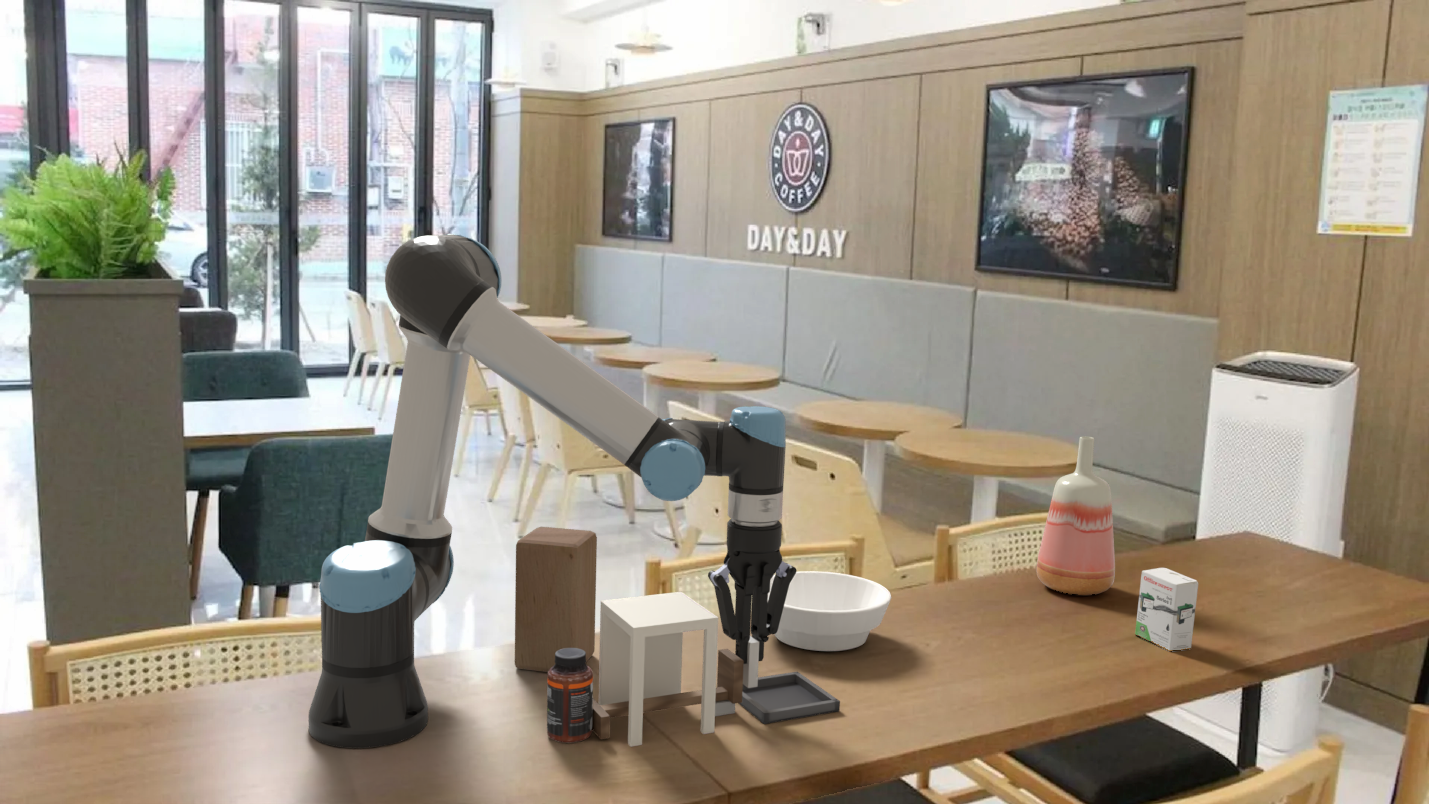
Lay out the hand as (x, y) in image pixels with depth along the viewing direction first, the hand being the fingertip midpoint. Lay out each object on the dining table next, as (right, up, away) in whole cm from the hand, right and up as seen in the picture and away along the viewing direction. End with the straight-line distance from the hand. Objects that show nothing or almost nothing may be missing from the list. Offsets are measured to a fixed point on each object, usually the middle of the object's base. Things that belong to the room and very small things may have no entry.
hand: (748, 683), depth 168 cm
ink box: (+71, -1, +34) cm, 78 cm away
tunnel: (-10, -4, -5) cm, 12 cm away
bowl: (+13, 0, +30) cm, 32 cm away
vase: (+64, +3, +63) cm, 90 cm away
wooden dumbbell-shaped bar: (-12, -3, -5) cm, 13 cm away
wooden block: (-29, 0, +15) cm, 33 cm away
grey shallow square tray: (+5, -3, +3) cm, 6 cm away
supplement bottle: (-24, -4, -11) cm, 26 cm away
